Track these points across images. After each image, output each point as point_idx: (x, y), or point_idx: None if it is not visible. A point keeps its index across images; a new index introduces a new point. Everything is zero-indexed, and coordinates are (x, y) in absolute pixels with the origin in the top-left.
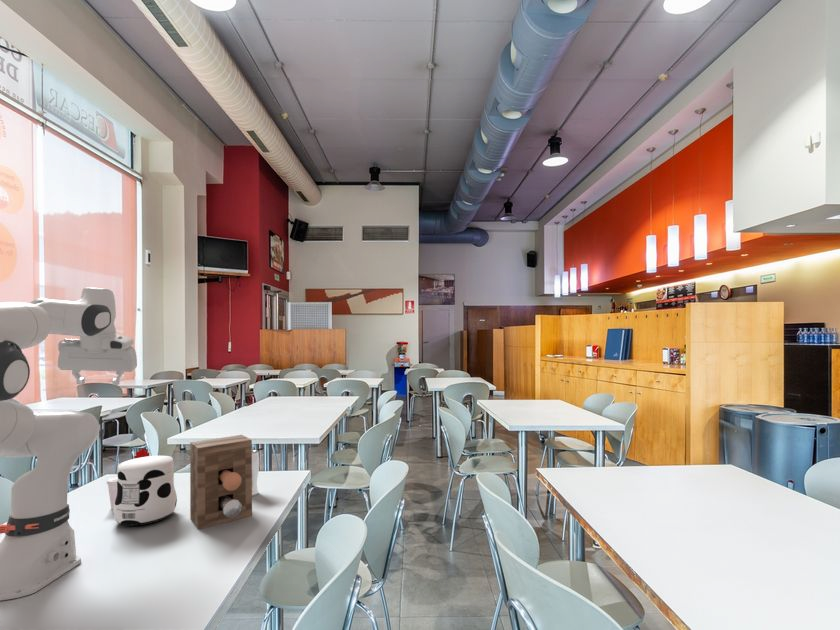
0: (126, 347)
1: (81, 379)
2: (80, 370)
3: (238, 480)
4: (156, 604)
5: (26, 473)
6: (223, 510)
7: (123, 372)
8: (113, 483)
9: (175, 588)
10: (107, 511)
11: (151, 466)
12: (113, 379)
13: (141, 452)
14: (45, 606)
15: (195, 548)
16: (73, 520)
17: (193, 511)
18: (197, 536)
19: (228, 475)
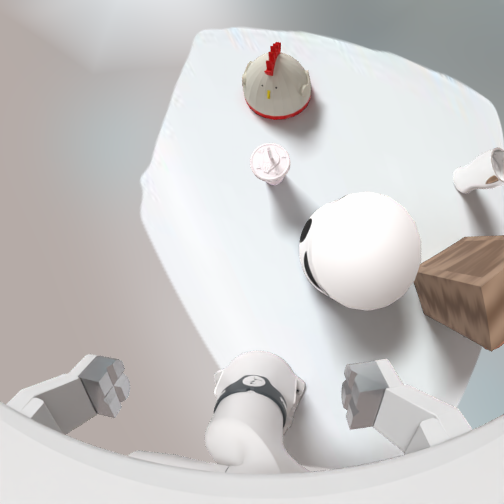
0: None
1: (112, 415)
2: (39, 408)
3: None
4: (392, 456)
5: (223, 464)
6: (464, 336)
7: (458, 417)
8: (269, 180)
9: None
10: (264, 192)
11: (393, 301)
12: (359, 420)
13: (273, 56)
14: (305, 450)
15: (423, 370)
16: (225, 221)
17: (423, 292)
18: (424, 337)
19: (496, 347)
